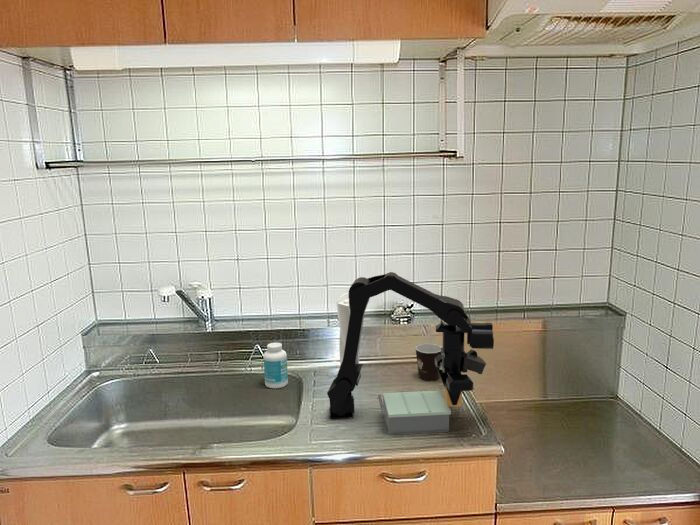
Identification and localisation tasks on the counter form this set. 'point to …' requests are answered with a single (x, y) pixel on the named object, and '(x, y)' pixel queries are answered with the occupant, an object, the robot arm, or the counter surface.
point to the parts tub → (414, 423)
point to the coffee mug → (428, 361)
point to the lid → (419, 403)
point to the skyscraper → (343, 324)
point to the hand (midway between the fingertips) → (452, 401)
